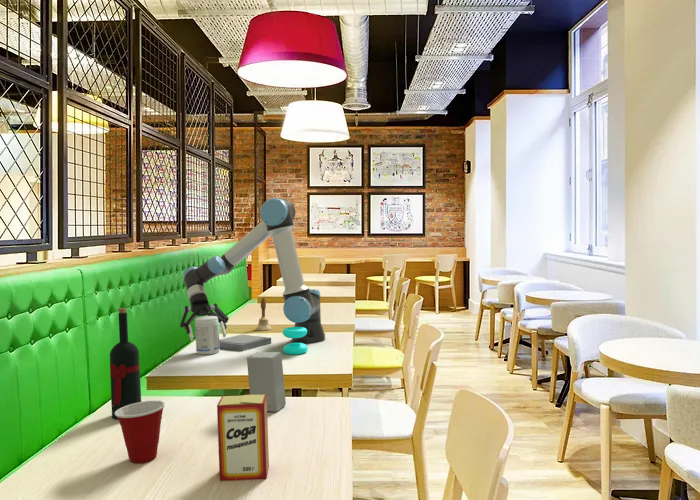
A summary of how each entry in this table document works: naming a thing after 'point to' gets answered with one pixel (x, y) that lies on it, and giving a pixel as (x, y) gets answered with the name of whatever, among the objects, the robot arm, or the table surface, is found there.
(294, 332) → the donuts
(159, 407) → the plastic cup
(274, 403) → the skincare box
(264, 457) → the baking soda box
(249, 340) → the slate board
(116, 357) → the wine bottle
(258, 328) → the hand bell
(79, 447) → the table surface
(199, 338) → the supplement tub
